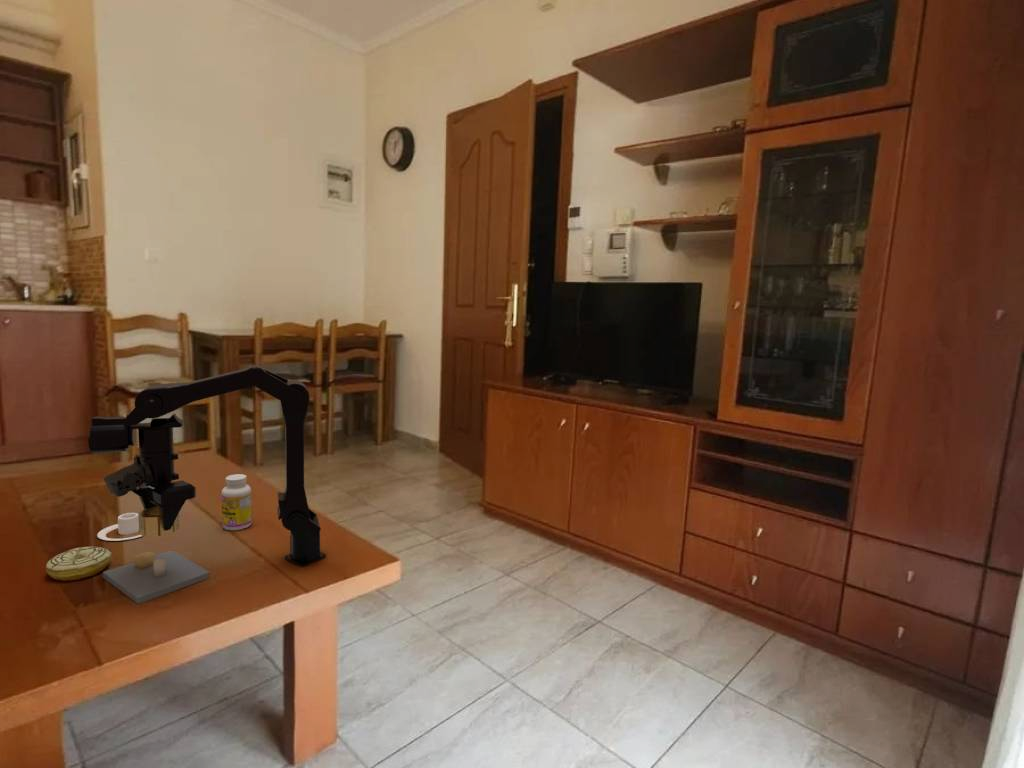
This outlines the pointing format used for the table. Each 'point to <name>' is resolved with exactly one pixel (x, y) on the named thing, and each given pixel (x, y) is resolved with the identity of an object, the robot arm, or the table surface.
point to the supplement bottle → (236, 503)
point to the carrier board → (152, 584)
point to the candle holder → (123, 527)
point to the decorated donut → (78, 563)
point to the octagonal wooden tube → (154, 523)
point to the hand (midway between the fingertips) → (159, 525)
